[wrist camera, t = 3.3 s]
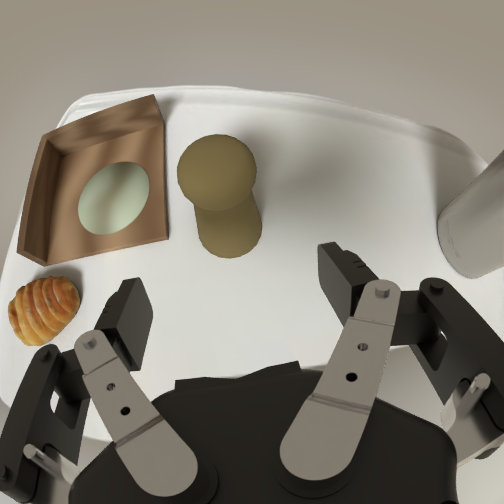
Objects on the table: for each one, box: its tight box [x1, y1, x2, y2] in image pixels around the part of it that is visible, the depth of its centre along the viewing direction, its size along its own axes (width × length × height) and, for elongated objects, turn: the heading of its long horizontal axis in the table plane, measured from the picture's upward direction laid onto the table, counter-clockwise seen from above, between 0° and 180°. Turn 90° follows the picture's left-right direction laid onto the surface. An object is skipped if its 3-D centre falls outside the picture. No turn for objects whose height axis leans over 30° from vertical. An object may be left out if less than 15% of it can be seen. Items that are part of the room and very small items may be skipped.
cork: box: [177, 134, 262, 258], centre depth 22 cm, size 6×6×11 cm
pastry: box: [8, 276, 80, 346], centre depth 23 cm, size 9×7×4 cm
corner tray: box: [17, 94, 168, 266], centre depth 27 cm, size 16×16×5 cm
